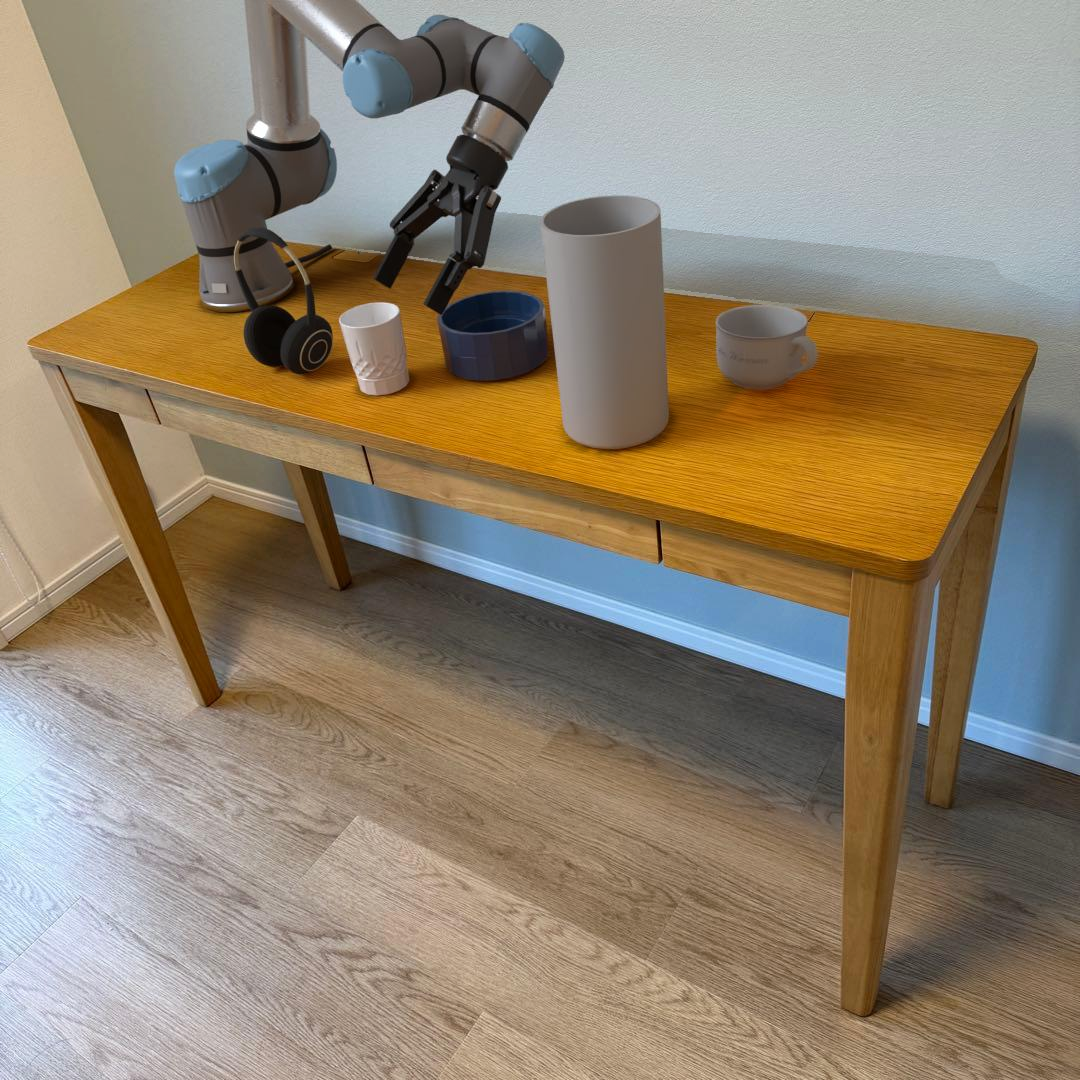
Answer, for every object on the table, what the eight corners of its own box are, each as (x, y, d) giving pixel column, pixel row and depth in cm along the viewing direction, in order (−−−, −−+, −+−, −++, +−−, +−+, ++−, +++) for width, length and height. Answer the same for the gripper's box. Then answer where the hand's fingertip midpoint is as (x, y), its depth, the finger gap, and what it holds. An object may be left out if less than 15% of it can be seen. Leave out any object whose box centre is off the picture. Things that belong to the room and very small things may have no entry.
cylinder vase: (542, 434, 119) (515, 225, 104) (607, 390, 126) (591, 190, 111) (625, 463, 111) (609, 243, 97) (690, 415, 118) (684, 204, 104)
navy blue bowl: (457, 339, 144) (449, 293, 139) (555, 335, 141) (550, 287, 137) (436, 386, 132) (427, 337, 128) (542, 381, 130) (536, 331, 126)
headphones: (310, 390, 135) (271, 246, 124) (240, 371, 143) (196, 233, 131) (355, 364, 141) (321, 223, 129) (284, 346, 148) (246, 212, 137)
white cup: (383, 366, 139) (368, 298, 133) (425, 377, 135) (412, 307, 129) (343, 391, 134) (326, 321, 128) (386, 403, 130) (370, 331, 124)
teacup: (699, 374, 127) (698, 314, 122) (772, 351, 129) (774, 292, 125) (761, 419, 116) (763, 356, 111) (840, 393, 119) (844, 330, 114)
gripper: (561, 180, 122) (477, 334, 124) (454, 150, 139) (382, 286, 142) (520, 146, 117) (433, 308, 119) (415, 119, 134) (341, 261, 136)
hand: (405, 296), depth 130 cm, fingers open, 13 cm apart
